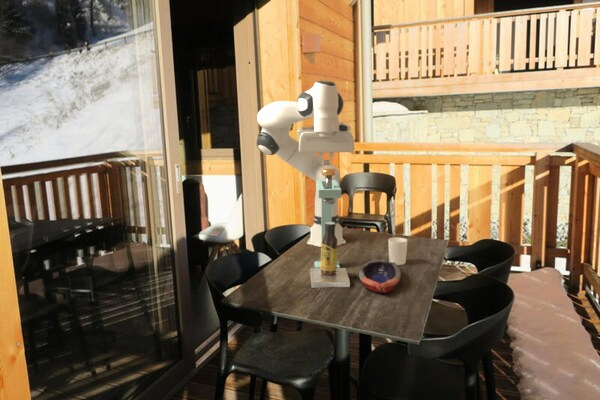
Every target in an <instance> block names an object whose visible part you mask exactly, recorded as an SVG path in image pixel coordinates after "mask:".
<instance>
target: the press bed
mask: <svg viewBox="0 0 600 400" xmlns="http://www.w3.org/2000/svg"><path fill="white" fill-rule="evenodd" d="M309 272H310V273H309V274H310V284H311V288H312V289H314V288H350V287H351V281H350V278H349V273H348V271H347V268H345V267H340V268H336V273H335V274H331V275H326V274H323V273H321V268H320V269H315V268H310V271H309Z"/></svg>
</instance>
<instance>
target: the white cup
mask: <svg viewBox="0 0 600 400" xmlns="http://www.w3.org/2000/svg"><path fill="white" fill-rule="evenodd" d="M407 252H408V239H407V238H405V237H399V236H398V237H390V238H388V259H389V260H388V261H389V262H392V263H393V262H395V264H396V265H397V266H403V265H405V264H406V262H407V261H406V260H407Z"/></svg>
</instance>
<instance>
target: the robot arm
mask: <svg viewBox="0 0 600 400" xmlns="http://www.w3.org/2000/svg"><path fill="white" fill-rule="evenodd" d="M344 106H345V105H344V100H343V97H342V95H341V94H340V93H339V92H338V86H337V84H336V83H335V82H333V81H329V80H328V81H327V80H318V81H316V82H314V84H313V86H312V87H311V88H309V89H308V90H306V91H304V92H301V93H300V94H299V96H298V97H297V100H296V101H292V100H291V101H290V100H289V101H288V100H277V101H273V102H271V103H268V104H267V105H264V107H262V108H261V109H260V110H259V111H258V113H257V116H256V117H257V119H256V120H257V123H258V125H259V126H260V127H261V131H260V132H259V133H257V134H258V136H257V140H256V146H257V148H258V149H259V151H260V152H261V153H263V154H265V155H267V156H268V155H269V156H274V155H277V157H278V158H280V159H281V160H283V162H285V163H286V164H288V165H289V166H291V167H293V168H294V169H296V171H299V172H300V173H302V174H303V175H305V176H306V177H308V178H309V179H311V180H313V181H314V182H316V180H325V175H322V169H327V168H331V169H336V175H332V180H336V181H337V183H338V185H339V186H340V183H341V172H340V171H339V169H338V168H337V167H336V166H334V165H333V164H331V163H332V162H331V161H332V159H333V157H334V156H335V155H334V153H353V152H354V151H355V141H354V135H353V134H352V132H351V130H352V127H351V125H349V124H346V123H343V122H339V115H340V114H341V113H342V111H343V108H344ZM311 118H313V126H309V127H308V126H307V127H304V126H303V127H301V128H299V129H298V130H297V139H298V140H299V141H298V140H297V139H295V138H294V137H292V136H290V132H291V131H293V128H294V125H295V124H296V123H300V122H301V121H304V120H308V119H311ZM324 153H327V154H328V153H329V158H328V159H324ZM338 212H339V198H335V203H333V204H332V222H334V223H336V226H335V237H336V238H337V247H338V246H340V245H341V246H342V245H345V244H347V241H346V240H345V239H344V238H343V226H342V225H341V224H340V222H339V221H340V220H339V219H340V216H339V213H338ZM309 233H310V236H309V238H308V240H307V242H306V244H307V245H311V246H314V247H318V248H321V243H322V232H321V198H319V197H318V193H317V189H316V188H315V196H314V215H313V225H312V226H311V227H310V229H309Z"/></svg>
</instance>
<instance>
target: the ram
mask: <svg viewBox="0 0 600 400" xmlns="http://www.w3.org/2000/svg"><path fill="white" fill-rule="evenodd" d="M322 175H325V182H326V189H332V175H336V169H331V168H327V169H322ZM323 203H324V204H333V203H335V198H323Z"/></svg>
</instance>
